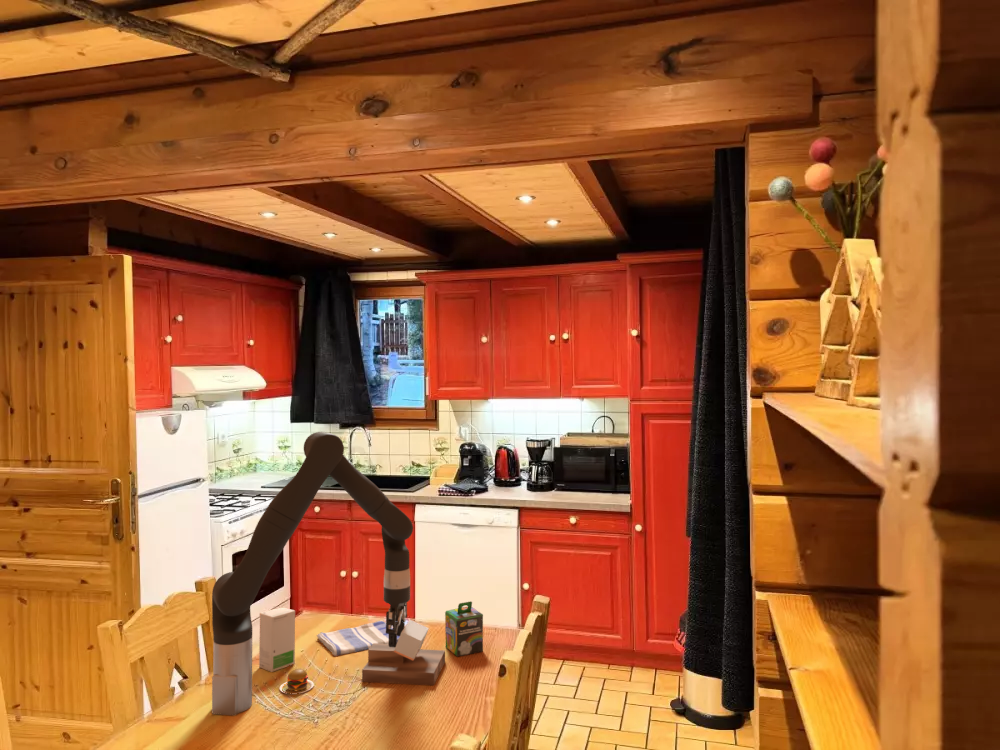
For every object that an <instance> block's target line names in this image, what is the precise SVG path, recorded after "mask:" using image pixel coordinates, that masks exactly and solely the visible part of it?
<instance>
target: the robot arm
mask: <svg viewBox="0 0 1000 750" xmlns="http://www.w3.org/2000/svg"><path fill="white" fill-rule="evenodd" d="M344 450H345V446H344V442H343V441H342V438H340V437H339V436H338V435H336V434H333V433H330V432H327V431H317V432H313V433H311V434H309V435H308V436H307V437H306V439H305V441H304V443H303V453H304V456H305V458H304V461H303V462H302V464H301V466H300V468H299V470H298V471H297V472H296V474H295V475H294V476H293V478H292V479H291V480H290V481H289V482H287V484H286V485H285V486H283V488H282V489H280V491H279V492H278V493H277V494H276V495H275V496H274V497H273V499H272V500H271V501H270V503H269V504H268V506H267V507H266V508H265V510H264V512H262V513H263V514H262V515H261V517H260V518H259V519H258V521H257V524H256V526H255V529H254V530H253V533H252V535H251V539H250V542H249V544H248V547H247V549H246V552H245V554H244V556H243V557H242V560H241V561H240V563H239V564H238V566H237V567H236V568H235V569H234V571H230V572H227V573H224V574H222V575H221V576H220V577H218V579H217V580H216V581H215V582H214V585H213V587H212V593H211V594H212V595H211V606H212V607H211V614H212V615H211V618H212V621H211V623H212V634H213V635H212V636H213V639H212V640H213V649H212V650H213V652H212V653H213V655H212V656H213V659H212V660H213V662H212V663H213V664H212V666H213V667H212V671H213V672H212V673H213V675H212V677H211V679H212V681H211V684H212V685H211V687H212V689H211V692H212V693H211V697H212V698H211V714H212V715H222V716H224V715H225V716H236V715H238V714H240V713H243V712H245V711H247V710H249V709H250V708H251V707H252V705H253V623H252V615H251V606H252V604H253V603H254V602H255V600H256V597H257V595H258V593H259V591H260V589H261V587H262V585H263V583H264V581H265V579H266V577H267V574H268V572H270V569H271V567H272V566H273V565H274V563H275V562H276V560H277V559H278V557H279V556H280V555H281V553H282V551H283V550H284V549H285V546H286V545H287V544H288V542H289V540H290V539H291V538H292V536H293V534H294V533H295V531H296V530H297V528H298V526H299V525H300V523H301V522H302V521H303V520H302V519H303V518H304V516H305V514H306V512H307V511H308V509H309V508H310V506H311V505H312V503H313V501H314V499H315V497H316V496H317V493H318V491H319V490H320V489H321V487H322V486H323V484H324V483H325V482H326V480H327V478H328V477H329V476H330V477H331V478H332V479H333V480H334V481H335V482H336V483H338V485H339V486H341V487H342V489H344V491H346V493H347V494H348V495H349V496H350V497H351V498H352V499H353V501H355V503H356V504H357V505H358V506H359V507H360V508H361V509H362V510H363V511H364V512H365V513H366V514H367V515H368V516H370V518H371V519H373V520H375V521H376V522H377V523H378V524H379V525H380V526H381V538H382V544H383V549H384V571H383V574H384V575H383V601H384V602H385V603H386V604H389V605H390V606H389V608H388V611H386V612H385V615H386V616H385V623H386V634H389V647H396V645H397V636H400V635H401V632H402V631H403V629H404V628H405V626H406V625H405V624H406V623H405V622H406V620H407V618H408V602H409V601H410V600H411V570H410V550H409V548H408V547H407V545H406V541H407V540H408V539H409V538H410V537H411V536H412V534H413V531H414V525H413V522H412V520H411V519H410V518H409V517H408V516H407V514H406V513H405V512H403V511H402V510H401V509H400V508H399V507H397V506H396V505H395V504H394V503H393V502H392V501H391V500H390V499H389V498H388V496H387V495H385V493H383V491H382V490H381V489H380V488H379V487H378V486H377V485H376V484H375V483H374V482H373V481H371V480H370V479H369V478H368V477H367V476H366V475H364V474H363V473H362V472H361V471H359V470H358V469H357V468H356V467H355V466H354V465H353V464H352V463H351V462H350V461H349V460H348V459H347V458H346V457H345V455H344ZM391 628H393V629H391Z"/></svg>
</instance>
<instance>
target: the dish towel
mask: <svg viewBox="0 0 1000 750" xmlns="http://www.w3.org/2000/svg"><path fill="white" fill-rule="evenodd" d="M391 629H393V627H391ZM316 637H317V639H318V640H319V642H320V643H321V644H322V643H323V644H322V645H324V647H326V649H327V650H329V652H330V653H331V652H332V653H331V654H332V655H333V656H334V657H336V656H337V657H338V656H342V655H346V654H351V653H357V652H358V653H359V652H363V651H368V650H369V648H370V647H371V646H372V645H373V643H378V644H389V634H386V621H385V622H384V621H383V620H378V621H375V622H369V623H364V624H361V625H358V626H355V627H351V628H350V627H348V628H343V629H338V630H335V631H334V630H333V631H330V632H323V631H322V632H320V633H318V634H316ZM399 637H400V636H397V642H398V640H399Z"/></svg>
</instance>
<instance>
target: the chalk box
mask: <svg viewBox="0 0 1000 750" xmlns="http://www.w3.org/2000/svg"><path fill="white" fill-rule="evenodd" d="M472 605H473V601H465V602H460V603H458V606H457V608H455V609H449V610H446V611H445V612H444V613H445V615H444V617H445V618H444V621H445V625H444V626H445V648H446V649H448V650H449V652H451V653H452V654H453V655H455V656H456V657H463V656H468V655H472V654H477V653H482V652H484V614H483V613H481V612H480V611H478V610H477V609H475V608H474V607H472Z"/></svg>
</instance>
